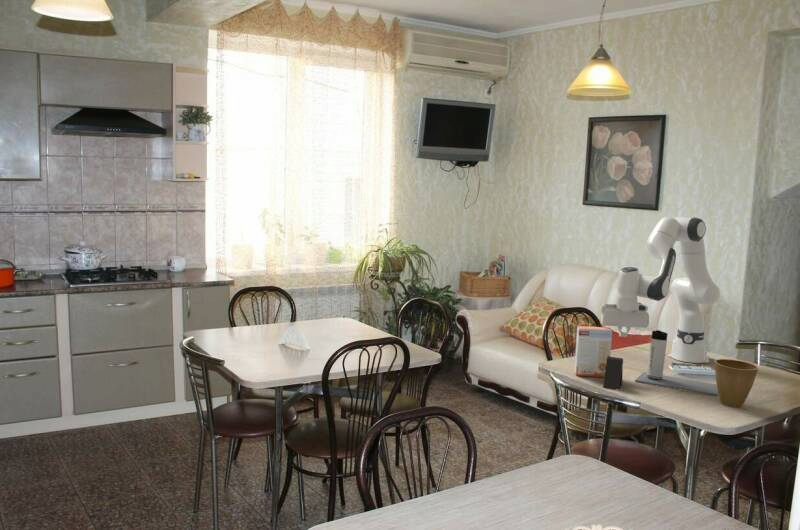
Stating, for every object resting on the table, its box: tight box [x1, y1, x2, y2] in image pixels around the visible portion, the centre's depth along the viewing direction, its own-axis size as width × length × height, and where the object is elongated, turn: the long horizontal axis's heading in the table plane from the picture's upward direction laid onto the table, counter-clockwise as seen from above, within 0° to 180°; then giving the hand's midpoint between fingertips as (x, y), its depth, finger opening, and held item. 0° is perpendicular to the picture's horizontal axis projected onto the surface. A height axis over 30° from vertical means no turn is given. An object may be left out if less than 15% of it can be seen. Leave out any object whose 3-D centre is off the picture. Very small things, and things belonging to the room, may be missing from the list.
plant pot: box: [714, 358, 759, 408], centre depth 268 cm, size 15×15×16 cm
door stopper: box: [602, 355, 624, 390], centre depth 286 cm, size 9×6×12 cm, turn 152°
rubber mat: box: [635, 371, 719, 397], centre depth 294 cm, size 16×32×1 cm, turn 59°
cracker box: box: [573, 325, 613, 378], centre depth 301 cm, size 14×6×21 cm, turn 84°
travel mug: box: [646, 329, 669, 379], centre depth 298 cm, size 6×7×20 cm
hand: (623, 336), depth 304 cm, fingers closed
